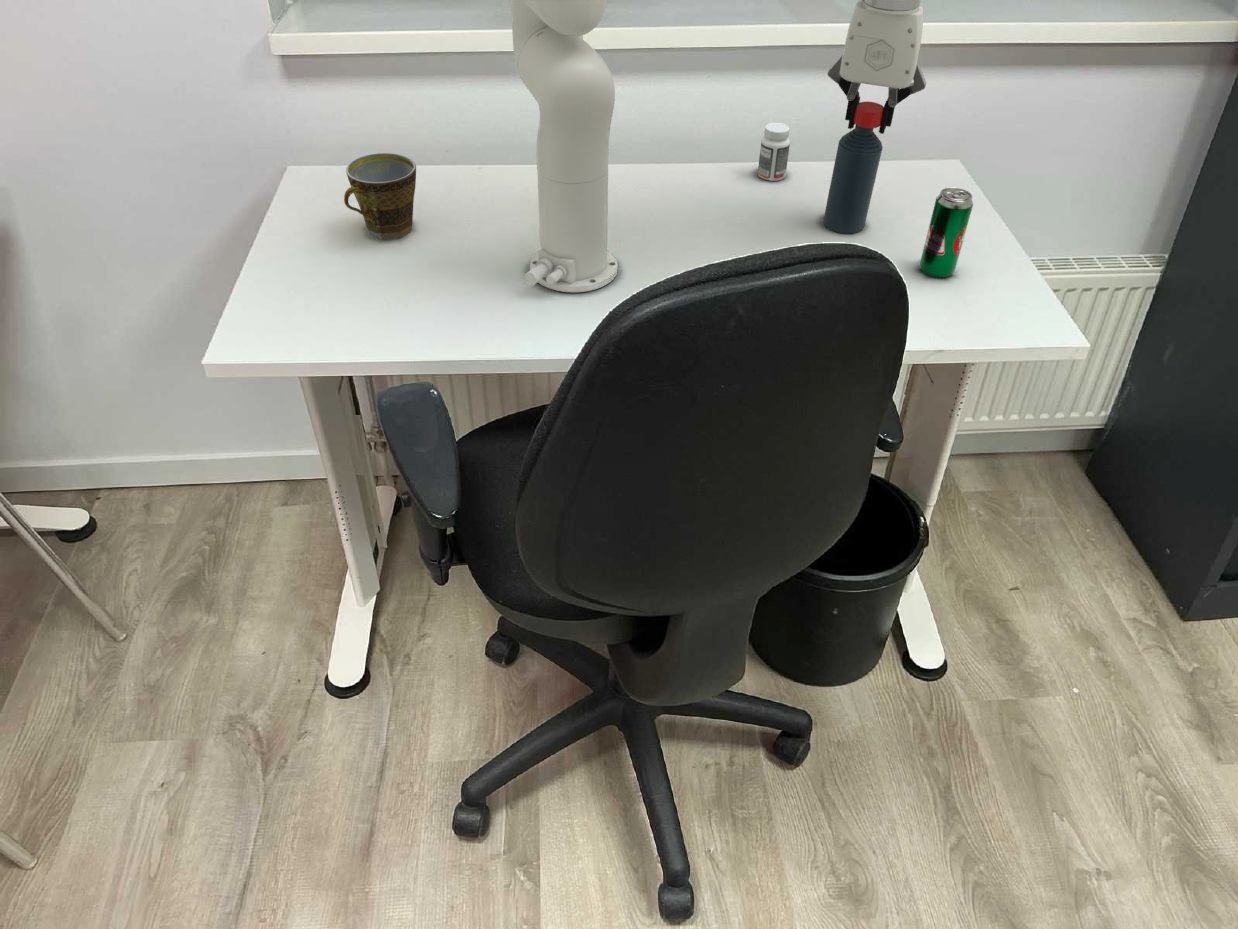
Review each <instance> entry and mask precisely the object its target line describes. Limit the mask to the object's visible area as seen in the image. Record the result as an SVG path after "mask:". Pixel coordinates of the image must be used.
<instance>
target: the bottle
mask: <svg viewBox="0 0 1238 929" xmlns="http://www.w3.org/2000/svg"><path fill="white" fill-rule="evenodd" d="M883 148H884V147H883V143H882V141H881V140H880V138H879V137H878V136H877V135H876V133H875V132H874V128H863V127H860V126H857V125H856V124H855V125H854V128H852V129H851V130H850V131H849V132H846V133H845V134H843V135H842V136H841V138H840V139H839V140H838V145H837V148H836V154H835V159H834V164H833V168H832V169H833V171H832V175H831V180H830V184H829V189H828V195H827V200H826V204H825V210H824V215H823V219H822V220H823V221H822V222H823V225H824V226H825V227H826V228H827V229H829V230H830V231H832V232H835V233H839V234H844V235H845V234H846V235H853V234H857V233H860V232H862V231H863V230H864V228H865V226H866V222H867V217H868V213H869V210H870V204H871V200H872V195H873V192H874V187H875V183H876V178H877V173H878V170H879V166H880V161H881V156H882V152H883Z"/></svg>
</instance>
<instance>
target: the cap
mask: <svg viewBox="0 0 1238 929" xmlns="http://www.w3.org/2000/svg"><path fill="white" fill-rule="evenodd" d="M883 108H884V105H882V104H881V103H878V102H874V101H861V102H859V103H858V105H857V108H856V111H855V116H854V123H855V126H856V125H857V126H860V127H863V128H873V129H878V128H880V125H881V120H882V115H883V114H882V113H883Z"/></svg>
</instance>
